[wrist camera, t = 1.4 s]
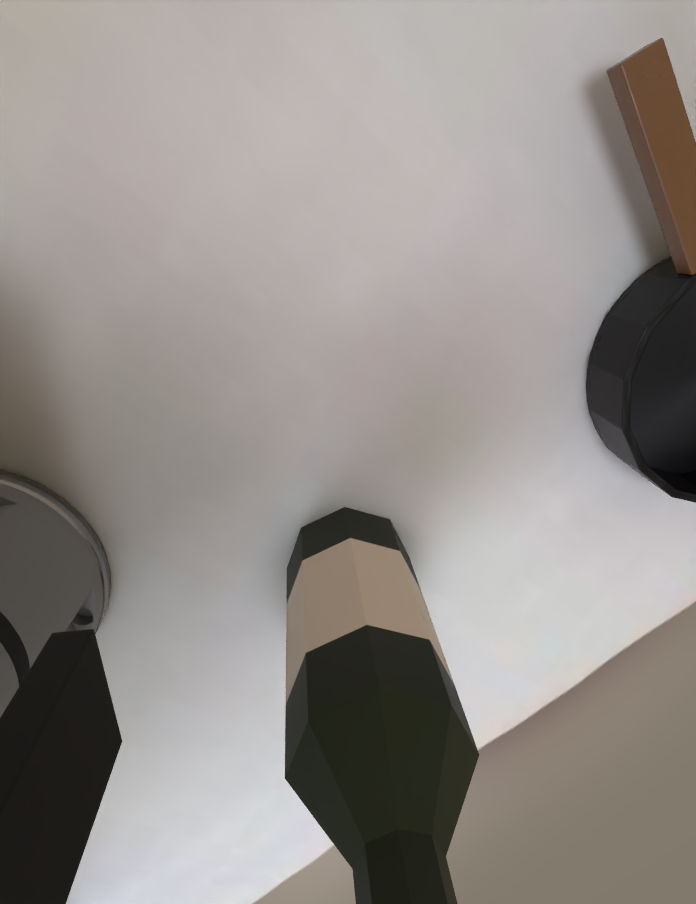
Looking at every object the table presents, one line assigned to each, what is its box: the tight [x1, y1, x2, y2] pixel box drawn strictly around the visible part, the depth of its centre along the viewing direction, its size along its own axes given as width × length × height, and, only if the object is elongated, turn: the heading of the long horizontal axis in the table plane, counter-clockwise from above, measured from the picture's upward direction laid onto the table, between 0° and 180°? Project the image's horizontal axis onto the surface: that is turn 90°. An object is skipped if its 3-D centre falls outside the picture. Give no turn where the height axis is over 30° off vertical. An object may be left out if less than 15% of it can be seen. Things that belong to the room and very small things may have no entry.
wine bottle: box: [285, 507, 479, 904], centre depth 27 cm, size 8×8×30 cm
